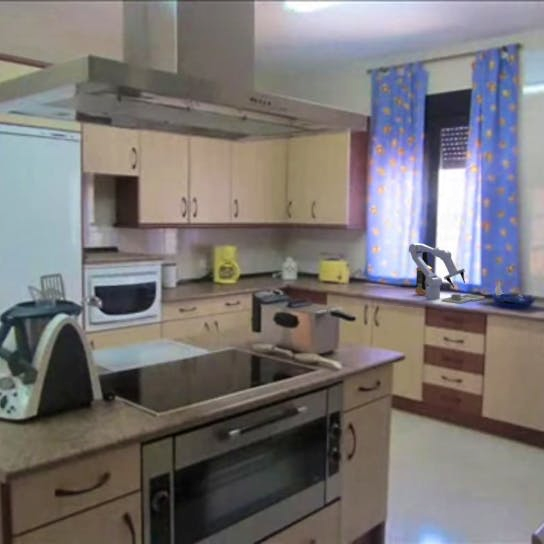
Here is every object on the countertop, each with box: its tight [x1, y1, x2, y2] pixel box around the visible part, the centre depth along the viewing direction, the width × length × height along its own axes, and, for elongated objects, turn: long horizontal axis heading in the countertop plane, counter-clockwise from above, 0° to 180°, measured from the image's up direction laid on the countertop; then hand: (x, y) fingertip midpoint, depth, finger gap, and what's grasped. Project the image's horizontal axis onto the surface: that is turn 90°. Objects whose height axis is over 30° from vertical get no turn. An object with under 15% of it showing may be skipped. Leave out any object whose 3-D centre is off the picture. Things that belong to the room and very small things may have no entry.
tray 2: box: [461, 294, 485, 302], centre depth 421 cm, size 14×14×2 cm
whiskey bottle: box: [414, 251, 434, 296], centre depth 450 cm, size 10×10×32 cm
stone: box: [450, 293, 462, 301], centre depth 413 cm, size 4×4×4 cm
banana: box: [494, 280, 523, 297], centre depth 409 cm, size 5×19×15 cm, turn 50°
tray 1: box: [441, 296, 471, 304], centre depth 413 cm, size 14×14×2 cm
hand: (459, 285), depth 411 cm, fingers open, 7 cm apart
